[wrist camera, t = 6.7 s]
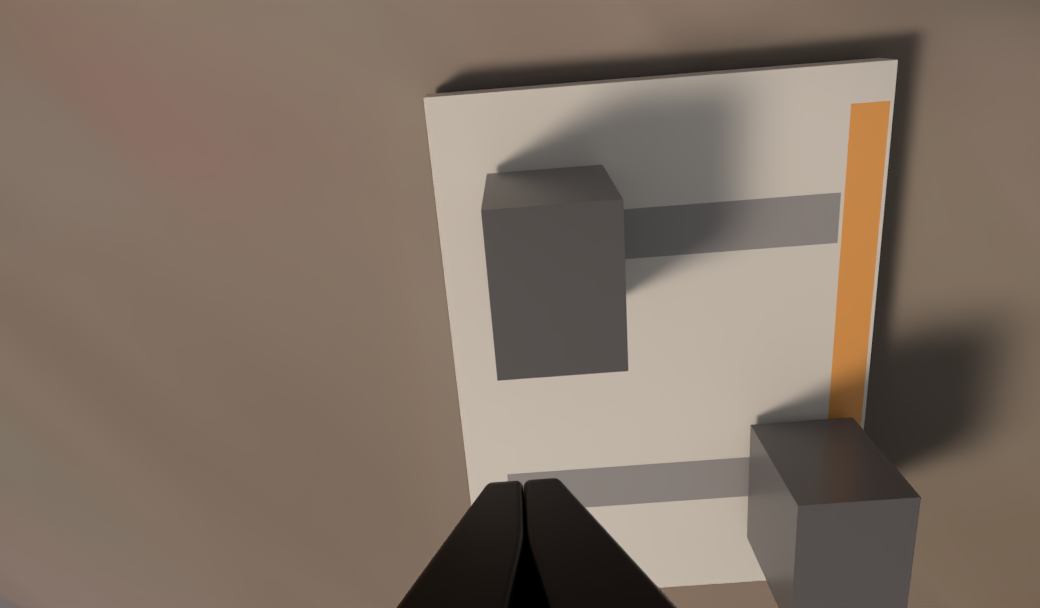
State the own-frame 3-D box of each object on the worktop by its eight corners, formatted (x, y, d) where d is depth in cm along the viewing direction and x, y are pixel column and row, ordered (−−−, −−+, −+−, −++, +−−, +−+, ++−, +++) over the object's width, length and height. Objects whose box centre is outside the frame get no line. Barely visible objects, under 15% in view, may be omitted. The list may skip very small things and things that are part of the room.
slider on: (853, 417, 23) (920, 497, 19) (843, 530, 24) (904, 625, 20) (750, 424, 23) (797, 505, 19) (746, 536, 24) (789, 633, 20)
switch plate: (880, 57, 20) (898, 59, 19) (838, 554, 26) (850, 574, 25) (427, 93, 20) (423, 97, 20) (483, 578, 26) (482, 599, 25)
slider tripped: (602, 164, 20) (622, 199, 16) (608, 308, 21) (628, 370, 18) (486, 173, 20) (480, 209, 16) (500, 316, 21) (497, 380, 18)
